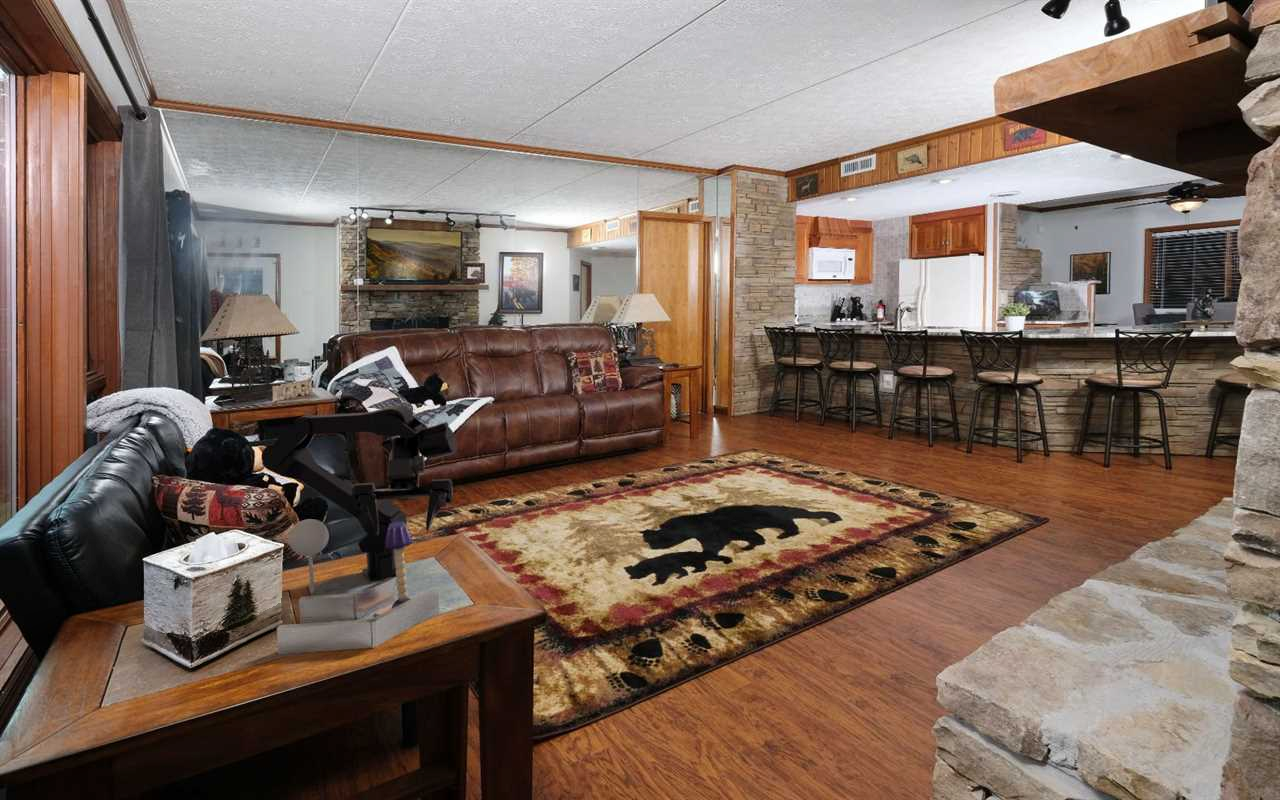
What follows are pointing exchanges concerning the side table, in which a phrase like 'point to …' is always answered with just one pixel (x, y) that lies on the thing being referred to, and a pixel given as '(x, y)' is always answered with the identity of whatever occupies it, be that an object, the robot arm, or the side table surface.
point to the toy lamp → (399, 556)
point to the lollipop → (309, 541)
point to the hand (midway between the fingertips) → (402, 532)
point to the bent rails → (349, 608)
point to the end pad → (383, 610)
